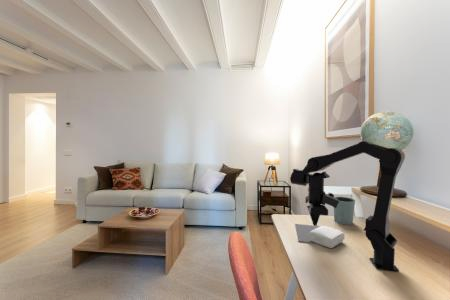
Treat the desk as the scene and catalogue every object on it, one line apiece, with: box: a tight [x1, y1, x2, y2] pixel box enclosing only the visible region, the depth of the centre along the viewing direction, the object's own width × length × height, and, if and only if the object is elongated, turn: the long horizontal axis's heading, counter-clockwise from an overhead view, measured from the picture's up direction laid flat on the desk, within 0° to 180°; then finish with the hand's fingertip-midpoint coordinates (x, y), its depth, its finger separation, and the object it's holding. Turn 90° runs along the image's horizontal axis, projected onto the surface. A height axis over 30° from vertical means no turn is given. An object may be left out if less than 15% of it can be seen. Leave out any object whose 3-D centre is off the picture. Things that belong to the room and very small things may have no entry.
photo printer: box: [308, 225, 345, 249], centre depth 93 cm, size 10×4×12 cm
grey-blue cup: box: [333, 196, 356, 226], centre depth 117 cm, size 10×10×12 cm
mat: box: [294, 223, 321, 245], centre depth 101 cm, size 20×13×1 cm, turn 166°
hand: (315, 225), depth 92 cm, fingers closed
